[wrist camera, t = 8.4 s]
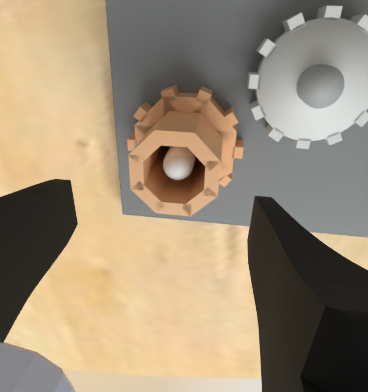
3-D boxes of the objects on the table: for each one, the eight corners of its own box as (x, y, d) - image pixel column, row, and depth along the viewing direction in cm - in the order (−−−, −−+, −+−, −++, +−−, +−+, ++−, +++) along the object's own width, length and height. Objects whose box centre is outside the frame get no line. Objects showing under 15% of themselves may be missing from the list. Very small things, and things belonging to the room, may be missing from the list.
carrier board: (127, 206, 24) (92, 265, 18) (101, -158, 14) (6, -306, 8) (409, 232, 22) (482, 309, 15) (600, -174, 12) (981, -388, 6)
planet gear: (136, 184, 21) (110, 228, 16) (131, 82, 18) (96, 98, 13) (235, 193, 21) (238, 240, 16) (249, 88, 17) (257, 107, 12)
